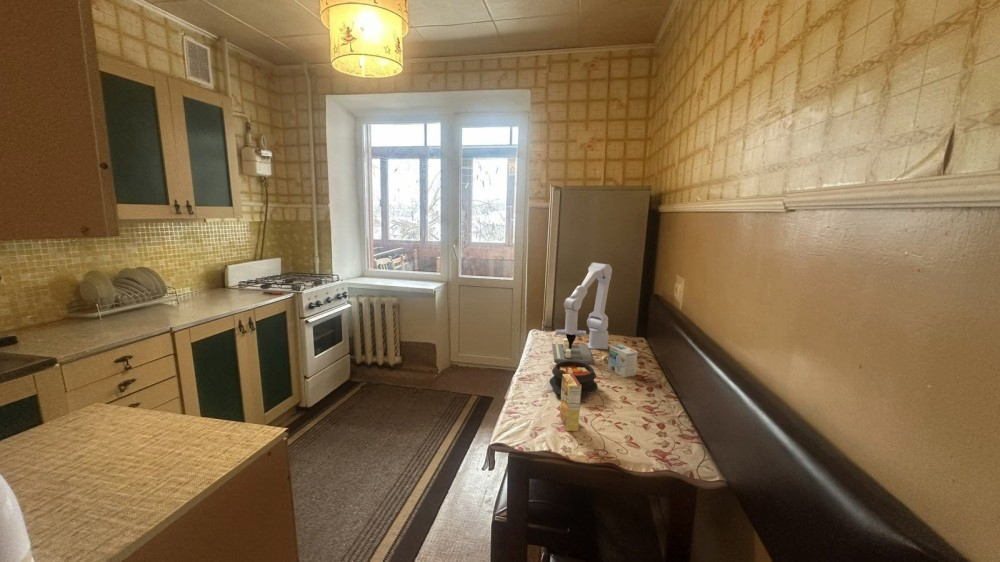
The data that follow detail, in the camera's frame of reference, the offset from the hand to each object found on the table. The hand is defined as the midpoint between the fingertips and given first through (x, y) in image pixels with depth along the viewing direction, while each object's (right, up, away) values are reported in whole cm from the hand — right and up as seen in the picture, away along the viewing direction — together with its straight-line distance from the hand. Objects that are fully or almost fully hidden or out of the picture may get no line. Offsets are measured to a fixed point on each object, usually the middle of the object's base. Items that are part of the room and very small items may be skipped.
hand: (570, 349), depth 183 cm
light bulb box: (+19, -7, -19) cm, 28 cm away
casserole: (-6, -9, -36) cm, 37 cm away
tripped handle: (-2, -1, 0) cm, 2 cm away
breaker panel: (+1, -3, 0) cm, 3 cm away
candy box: (-12, -13, -62) cm, 64 cm away
